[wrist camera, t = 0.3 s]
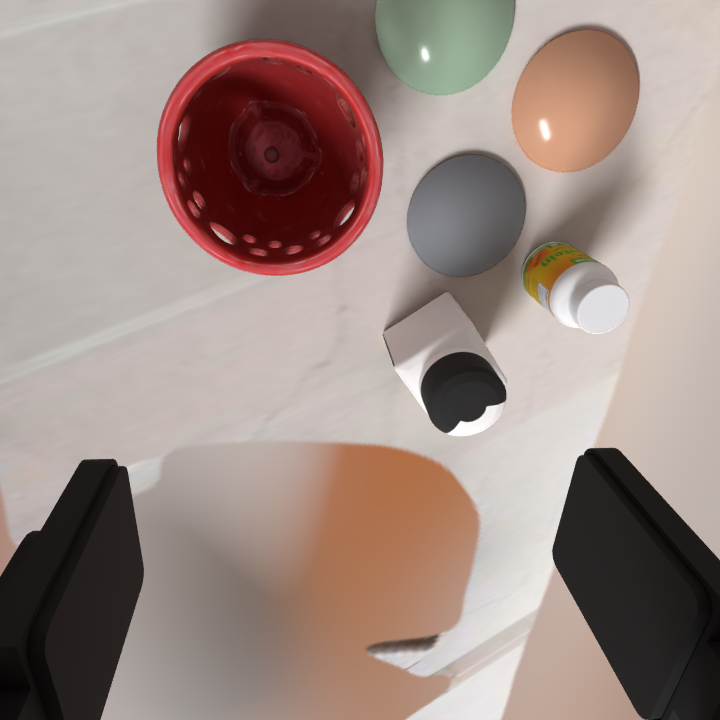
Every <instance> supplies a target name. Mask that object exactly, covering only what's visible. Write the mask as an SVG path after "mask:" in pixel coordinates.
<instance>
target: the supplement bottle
mask: <svg viewBox="0 0 720 720" xmlns="http://www.w3.org/2000/svg"><path fill="white" fill-rule="evenodd" d="M521 277H522V283H523V286H524V288H525V290H526V291H527V292H528V293H529V294H530V296H532V297H533V298H534V299H535V300H536V301H537V302H538V303H539V304H540V305H542V306H543V307H544V308H545V309H546V310H547V311H548V312H550V313H551V314H552V315H553V316H554V317H555V318H556V319H557V320H559V321H560V322H561V323H563V324H564V325H566V326H569V327H573V328H582V329H583V330H585V331H587V332H589V333H592V334H602V333H606V332H609V331H611V330H613V329H614V328H616V327H617V326H618V325H619V324H620V323H621V322H622V321H623V320H624V318H625V317H626V315H627V312H628V309H629V297H628V295H627V293H626V291H625V290H624V289H623V288H622V287H620V286H619V284H618V281H617V278H616V276H615V275H614V273H613V272H612V271H611V270H610V269H609V268H607V267H606V266H605V265H603V264H601V263H599V262H598V261H596V260H594V259H592V258H591V257H589V256H587V255H586V254H584V253H582V252H580V251H579V250H577V249H575V248H574V247H572V246H570V245H568V244H566V243H563V242H549V243H546V244H543V245H541V246H539V247H538V248H536V249H535V250H534V251H533V252H532V253H531V254H530V255H529V256H528V257H527V259H526V261H525V262H524V265H523V268H522V275H521Z"/></svg>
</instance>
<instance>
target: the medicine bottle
mask: <svg viewBox="0 0 720 720" xmlns="http://www.w3.org/2000/svg"><path fill="white" fill-rule="evenodd" d="M383 337H384V340H385V343H386V346H387V349H388V351H389V354H390V357H391V360H392V363H393V365H394V368H395V370H396V372H397V373H398V374H399V376H400V377H401V379H402V380H403V381H404V383H405V384H406V385H407V387H408V388H409V390H410V391H411V392H412V394H413V395H414V396H415V398H416V399H417V401H418V402H419V403H420V405H421V406H422V407H423V409H424V410H425V412H426V413H427V414H428V416H429V417H430V419H431V421H432V423H433V424H434V425H435V426H436V427H437V428H438V429H439V430H441V431H442V432H444V433H447V434H450V435H454V436H468V435H473V434H476V433H479V432H481V431H483V430H485V429H487V428H488V427H489V426H491V425H492V424H493V423H494V422H495V421H496V420H497V419H498V418H499V416H500V415H501V413H502V411H503V409H504V407H505V403H506V389H505V386H504V385H506V384H507V379H506V377H505V376H504V374H503V372H502V371H501V369H500V367H499V366H498V364H497V362H496V361H495V359H494V358H493V356H492V354H491V353H490V351H489V349H488V348H487V346H486V344H485V343H484V341H483V340H482V338H481V336H480V335H479V333H478V331H477V330H476V328H475V326H474V325H473V323H472V321H471V320H470V319H469V317H468V316H467V315H466V314H465V312H464V311H463V310H462V308H461V307H460V306H459V304H458V303H457V302H456V300H455V299H454V298H453V296H452V295H451V294H450V293H449V292H445V293H443V294H442V295H440V296H439V297H437V298H436V299H434V300H432V301H431V302H429V303H428V304H426V305H425V306H423V307H422V308H420V309H418V310H417V311H415V312H414V313H412V314H411V315H409V316H408V317H406V318H405V319H403V320H401V321H400V322H398V323H397V324H395V325H394V326H392V327H391V328H389V329H387V330H386V331H384V332H383Z"/></svg>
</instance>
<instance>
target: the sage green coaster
mask: <svg viewBox="0 0 720 720" xmlns="http://www.w3.org/2000/svg"><path fill="white" fill-rule="evenodd" d="M513 19H514V0H377V1H376V9H375V27H376V35H377V40H378V44H379V47H380V50H381V52H382V55H383V57H384V59H385V61H386V63H387V64H388V66H389V67H390V69H391V70H392V72H393V73H394V74H395V75H396V76H397V77H398V78H399V79H400V80H401V81H402V82H403V83H404V84H406V85H408V86H409V87H411V88H412V89H414V90H417V91H419V92H422V93H425V94H430V95H450V94H456V93H459V92H462V91H464V90H466V89H468V88H471V87H472V86H474V85H475V84H477V83H478V82H480V81H481V80H482V79H483V78H484V77H486V76H487V75H488V73H489V72H490V71H491V70H492V69H493V68H494V66H495V65H496V64H497V62H498V61H499V59H500V58H501V56H502V54H503V52H504V50H505V48H506V46H507V43H508V40H509V37H510V34H511V30H512V25H513Z"/></svg>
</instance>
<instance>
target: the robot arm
mask: <svg viewBox="0 0 720 720" xmlns="http://www.w3.org/2000/svg"><path fill="white" fill-rule="evenodd" d="M552 553H553V560H554V563H555V565H556V567H557V569H558V571H559V573H560V575H561V576H562V578H563V580H564V582H565V584H566V585H567V587H568V589H569V591H570V593H571V594H572V596H573V598H574V600H575V602H576V603H577V605H578V607H579V609H580V611H581V612H582V614H583V616H584V618H585V620H586V622H587V623H588V625H589V627H590V629H591V630H592V632H593V634H594V636H595V638H596V640H597V641H598V643H599V645H600V647H601V649H602V650H603V652H604V654H605V656H606V657H607V659H608V661H609V663H610V665H611V667H612V668H613V670H614V672H615V674H616V676H617V677H618V679H619V681H620V683H621V685H622V686H623V688H624V690H625V692H626V693H627V696H628V697H629V699H630V701H631V702H632V705H633V706H634V708H635V710H636V711H637V713H638V714H639V715H640V716H641V717H642V718H643V719H646V720H647V719H648V720H720V560H719V559H718V558H717V557H716V555H715V554H714V553H713V552H712V551H711V550H710V549H709V548H708V547H707V546H706V545H705V544H704V542H703V541H702V540H701V539H700V538H699V537H698V536H697V535H696V534H695V532H694V531H693V530H692V529H691V528H690V527H689V526H688V525H687V524H686V523H685V522H684V520H683V519H682V518H681V517H680V516H679V515H678V514H677V513H676V512H675V511H674V510H673V508H672V507H671V506H670V505H669V504H668V503H667V502H666V501H665V500H664V499H663V498H662V496H661V495H660V494H659V493H658V492H657V491H656V490H655V489H654V488H653V487H652V485H651V484H650V483H649V482H648V481H647V480H646V479H645V478H644V477H643V476H642V475H641V473H640V472H639V471H638V470H637V469H636V468H635V467H634V466H633V465H632V463H631V462H630V461H629V460H628V459H627V458H626V457H625V456H624V455H623V454H622V453H621V451H619V450H618V449H616V448H590V449H587V450H586V451H585V453H584V455H581V456H579V457H578V459H577V461H576V465H575V468H574V472H573V476H572V479H571V483H570V487H569V490H568V494H567V497H566V501H565V505H564V508H563V512H562V516H561V519H560V523H559V527H558V530H557V534H556V537H555V541H554V545H553V550H552ZM143 576H144V567H143V560H142V554H141V548H140V542H139V536H138V530H137V524H136V519H135V512H134V507H133V500H132V494H131V488H130V482H129V476H128V471H127V468H126V467H125V466H118V464H117V462H116V460H114V459H90V460H83V461H81V463H80V464H79V466H78V467H77V469H76V471H75V472H74V474H73V476H72V478H71V479H70V481H69V483H68V484H67V486H66V488H65V490H64V491H63V493H62V495H61V496H60V498H59V500H58V502H57V503H56V505H55V507H54V509H53V510H52V512H51V514H50V515H49V517H48V519H47V521H46V522H45V524H44V526H43V527H42V529H41V531H32V532H30V533H29V534H27V535H26V537H25V538H24V539H23V540H22V542H21V543H20V545H19V547H18V548H17V550H16V552H15V553H14V555H13V557H12V558H11V560H10V562H9V563H8V565H7V567H6V568H5V570H4V572H3V573H2V575H1V576H0V720H100V719H101V716H102V713H103V710H104V706H105V703H106V700H107V697H108V693H109V690H110V687H111V684H112V681H113V677H114V674H115V671H116V668H117V664H118V661H119V658H120V655H121V652H122V648H123V645H124V642H125V638H126V635H127V632H128V629H129V626H130V622H131V619H132V616H133V613H134V609H135V606H136V603H137V600H138V597H139V593H140V590H141V587H142V583H143Z"/></svg>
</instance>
